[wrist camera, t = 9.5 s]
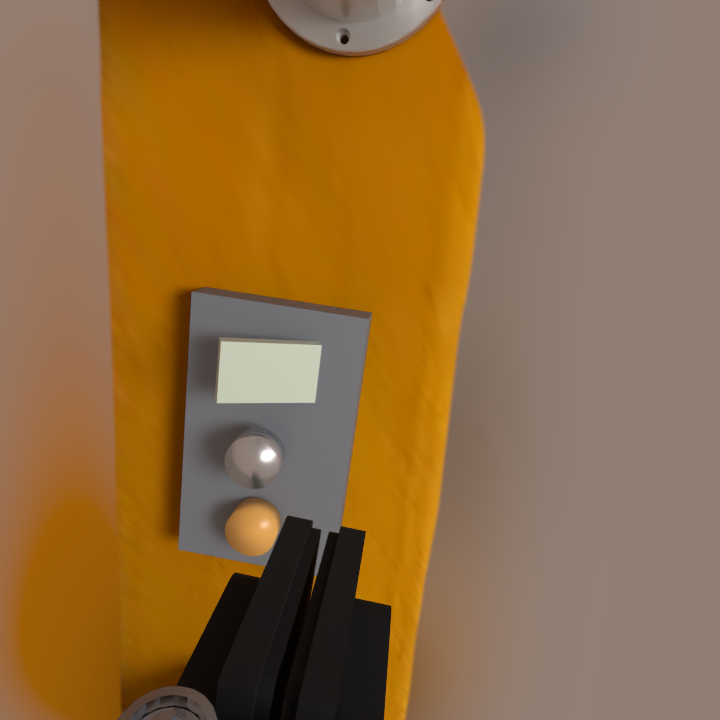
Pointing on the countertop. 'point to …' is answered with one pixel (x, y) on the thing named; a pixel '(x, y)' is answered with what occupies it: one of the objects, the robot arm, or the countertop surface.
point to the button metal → (255, 458)
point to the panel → (269, 418)
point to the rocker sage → (267, 370)
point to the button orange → (253, 527)
